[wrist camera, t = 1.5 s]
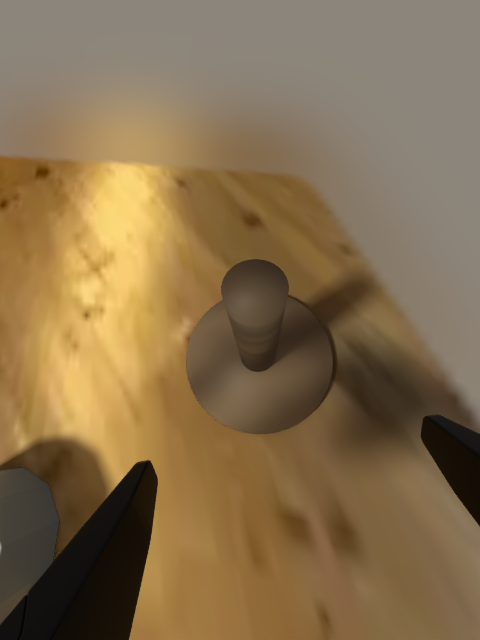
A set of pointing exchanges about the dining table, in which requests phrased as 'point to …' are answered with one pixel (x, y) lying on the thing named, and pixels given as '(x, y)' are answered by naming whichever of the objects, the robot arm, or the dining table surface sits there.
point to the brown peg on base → (258, 353)
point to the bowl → (24, 534)
